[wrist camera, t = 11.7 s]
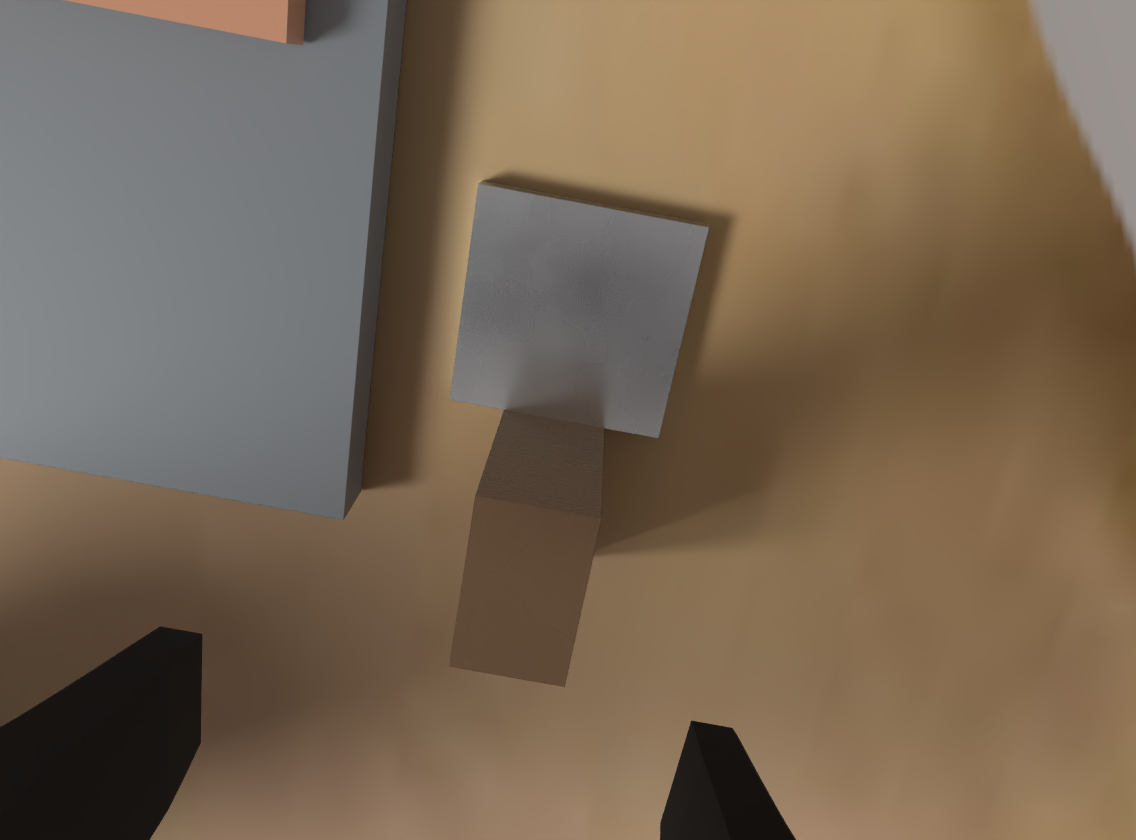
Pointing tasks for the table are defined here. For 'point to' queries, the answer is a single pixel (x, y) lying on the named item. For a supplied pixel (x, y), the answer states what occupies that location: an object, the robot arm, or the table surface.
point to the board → (194, 247)
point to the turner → (557, 402)
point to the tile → (223, 15)
